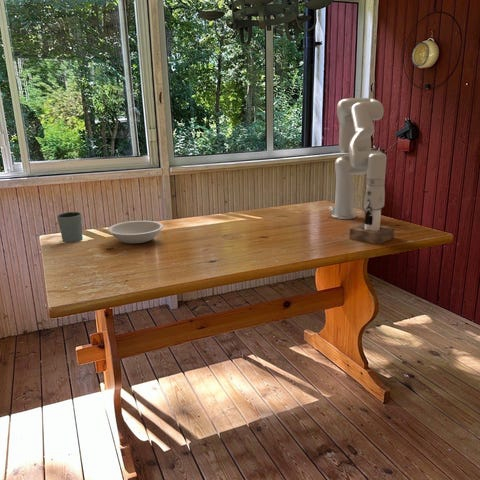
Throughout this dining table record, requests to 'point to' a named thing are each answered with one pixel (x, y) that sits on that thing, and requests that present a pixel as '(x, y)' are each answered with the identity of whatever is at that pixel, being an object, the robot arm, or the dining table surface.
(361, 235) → the socket block
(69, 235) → the grey green cup
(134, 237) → the soup bowl
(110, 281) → the dining table surface
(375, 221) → the can
